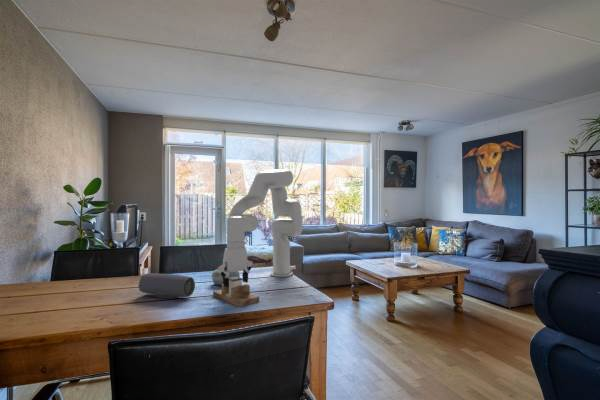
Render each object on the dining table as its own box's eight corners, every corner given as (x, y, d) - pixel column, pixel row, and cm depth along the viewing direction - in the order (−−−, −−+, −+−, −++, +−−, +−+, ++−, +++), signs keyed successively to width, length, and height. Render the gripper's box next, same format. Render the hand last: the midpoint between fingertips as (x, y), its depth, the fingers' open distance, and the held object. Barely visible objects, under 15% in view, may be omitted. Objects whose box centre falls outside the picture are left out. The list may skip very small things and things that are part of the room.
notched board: (232, 291, 147) (232, 278, 147) (259, 301, 133) (259, 287, 133) (213, 295, 140) (213, 282, 140) (239, 307, 126) (239, 292, 126)
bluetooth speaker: (195, 296, 140) (196, 273, 140) (182, 302, 131) (182, 278, 131) (152, 291, 146) (152, 270, 146) (137, 297, 137) (137, 274, 137)
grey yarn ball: (242, 274, 165) (236, 259, 161) (241, 287, 157) (235, 272, 152) (217, 280, 165) (210, 266, 161) (214, 293, 157) (207, 279, 152)
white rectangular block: (236, 291, 140) (236, 276, 140) (242, 293, 137) (242, 278, 137) (228, 293, 137) (228, 278, 137) (233, 295, 134) (234, 280, 134)
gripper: (247, 241, 145) (247, 278, 146) (213, 246, 133) (213, 286, 134) (257, 243, 140) (257, 282, 141) (222, 248, 128) (223, 290, 128)
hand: (235, 284), depth 137 cm, fingers open, 9 cm apart
